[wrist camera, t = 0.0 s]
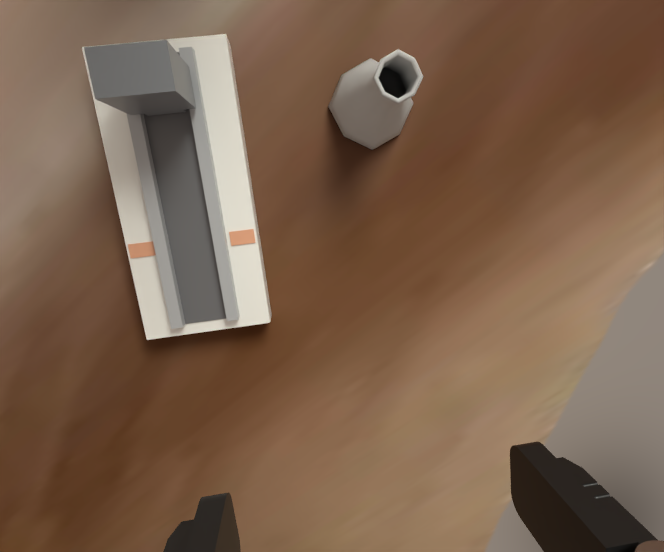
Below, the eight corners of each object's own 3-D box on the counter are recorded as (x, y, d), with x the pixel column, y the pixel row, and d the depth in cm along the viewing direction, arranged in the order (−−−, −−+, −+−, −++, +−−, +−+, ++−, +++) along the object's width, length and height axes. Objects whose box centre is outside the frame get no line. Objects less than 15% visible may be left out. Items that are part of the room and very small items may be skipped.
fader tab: (126, 76, 33) (83, 47, 26) (192, 70, 33) (166, 39, 26) (135, 117, 33) (95, 98, 26) (198, 110, 34) (175, 90, 27)
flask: (426, 104, 38) (472, 75, 28) (372, 164, 39) (399, 156, 29) (369, 43, 37) (397, -10, 27) (313, 107, 37) (321, 78, 28)
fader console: (96, 56, 35) (75, 42, 31) (230, 44, 36) (223, 29, 32) (155, 330, 40) (143, 343, 36) (271, 314, 41) (269, 326, 37)
